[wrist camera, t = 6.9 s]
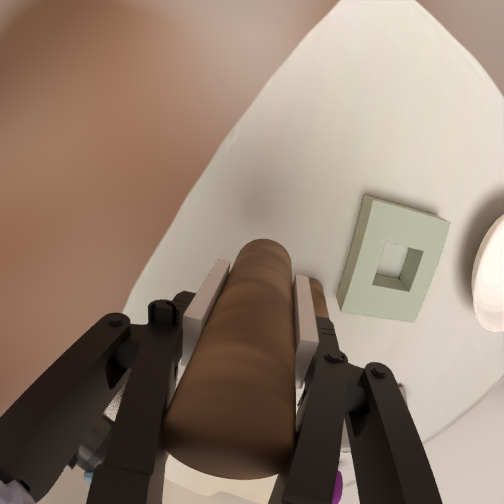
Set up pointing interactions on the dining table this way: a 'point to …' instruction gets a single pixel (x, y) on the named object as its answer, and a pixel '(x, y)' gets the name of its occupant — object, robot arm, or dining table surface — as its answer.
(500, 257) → the bowl
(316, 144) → the dining table surface
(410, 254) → the hole board
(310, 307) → the robot arm
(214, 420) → the long dowel
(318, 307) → the short dowel
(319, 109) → the dining table surface
